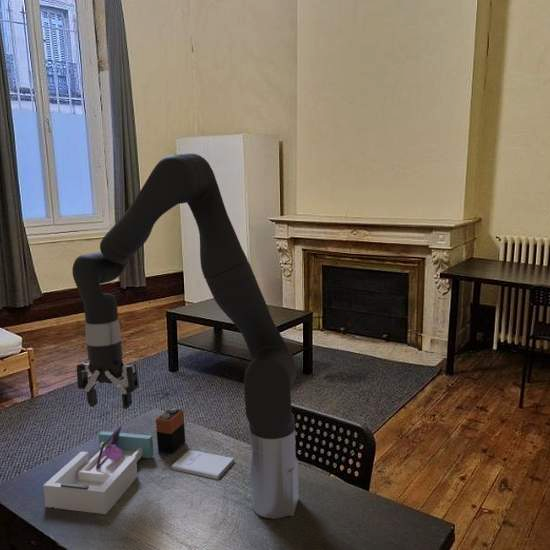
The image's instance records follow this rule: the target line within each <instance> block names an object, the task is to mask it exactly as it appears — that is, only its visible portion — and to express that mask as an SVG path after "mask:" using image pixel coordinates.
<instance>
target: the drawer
mask: <svg viewBox="0 0 550 550" xmlns="http://www.w3.org/2000/svg"><path fill="white" fill-rule="evenodd" d="M114 432H115V431H114ZM114 432H113V431H102V430H101V432H99V434H98V442H99V445H100V444H101V443H102V442H105V441H106V440H107V439H108V438H109V437H110V436H111V435H112V434H113V433H114ZM112 438H113V437H112ZM112 438H111V439H110V441H109V442H107V444H106V445H105V446H104V448H103V452H102V456H101V459H100V461H101V462H102V461H103V460H104V458H105V457H106V455H104V454H105V453H104V451H105V448H107V447H108V446H109V445H111V442H112ZM153 444H154V443H153V435H149V434H139V433H138V434H137V433H127V432H126V433H125V432H120V434H119V438H118V441H117V445H116V446H117V447H118V448H119V449H120V448H122V449H121V451H122V455H123V456H125V458H122V457H120V458H118V459H116V460H111V459H109V458H107V459H106V460H105V461H104V462H103V463H102V464H101V466H100V467H99V468H98V469H97V468H96V466H97V461H98V456H99V453H100V450H101V447H100V446H99V451H98V452H97V453H96V454H95V455H94V456H93V457H91V458H90V459H89V461H88V462H87V463H86V464H85V465H84V466H83V467H82V468H81V469H80V470H79V471H78V480H83V481H93V482H102V483H104V482H105V481H106V480H107V479H108V478H109V477H110V476H111V474H112V473H113V472H114V471H115V470H116V469H117V468H118V467H119V466H120V465H121V464H122V463H123V462H124V461H125V460H126V458H127V457H128V456H135V457H136V463H138V461H139V460H140V459H143V458H144V459H152V458H153V456H154V445H153ZM103 453H104V454H103ZM101 462H100V463H101ZM100 463H99V464H100Z"/></svg>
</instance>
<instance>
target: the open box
mask: <svg viewBox="0 0 550 550" xmlns="http://www.w3.org/2000/svg"><path fill="white" fill-rule="evenodd" d="M89 457H90V456H89V452H88V451H79V452H78V454H77V455H76V456H74V458H72V459H71V460H70V461H69V462H68V463H66V464H65V465H64V466H63V467H62V468H61V469H59V471H57V472H56V473H55V474H54V475H53V476H52V477H51V478H50V479H48V480H47V481H46V482H45V483H44V484H43V496H44V504H45V505H44V506H45V508H51V507H54V508H53V509H59V508H60V510H67V511H68V510H70V511H79V512H84V513H93V514H101V515H107V514H108V513H109V511H110V510H111V509H112V507H114V505H115V504H116V503H117V502H118V501H119V500H120V498H121V497H122V496H123V495H124V493H125V492H126V491H127V490H128V489H129V488H130V486H131V485H132V484H133V483H134V481H135V480H136V479H137V478H138V462H136V457H135V456H128V457H127V458H126V460H125V461H124V462H123V463H122V464H121V465H120V466H119V467H118V468H117V469H116V470H115V471H114V472H113V473H112V474H111V476H110V477H109V478H108V479H107V480H106V481H105V482H104V483H102V482H93V481H83V480H78V471H79V470H80V469H81V468H82V467H83V466H84V465H85V464H86V463H87V462H88V461H90V459H89Z"/></svg>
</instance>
